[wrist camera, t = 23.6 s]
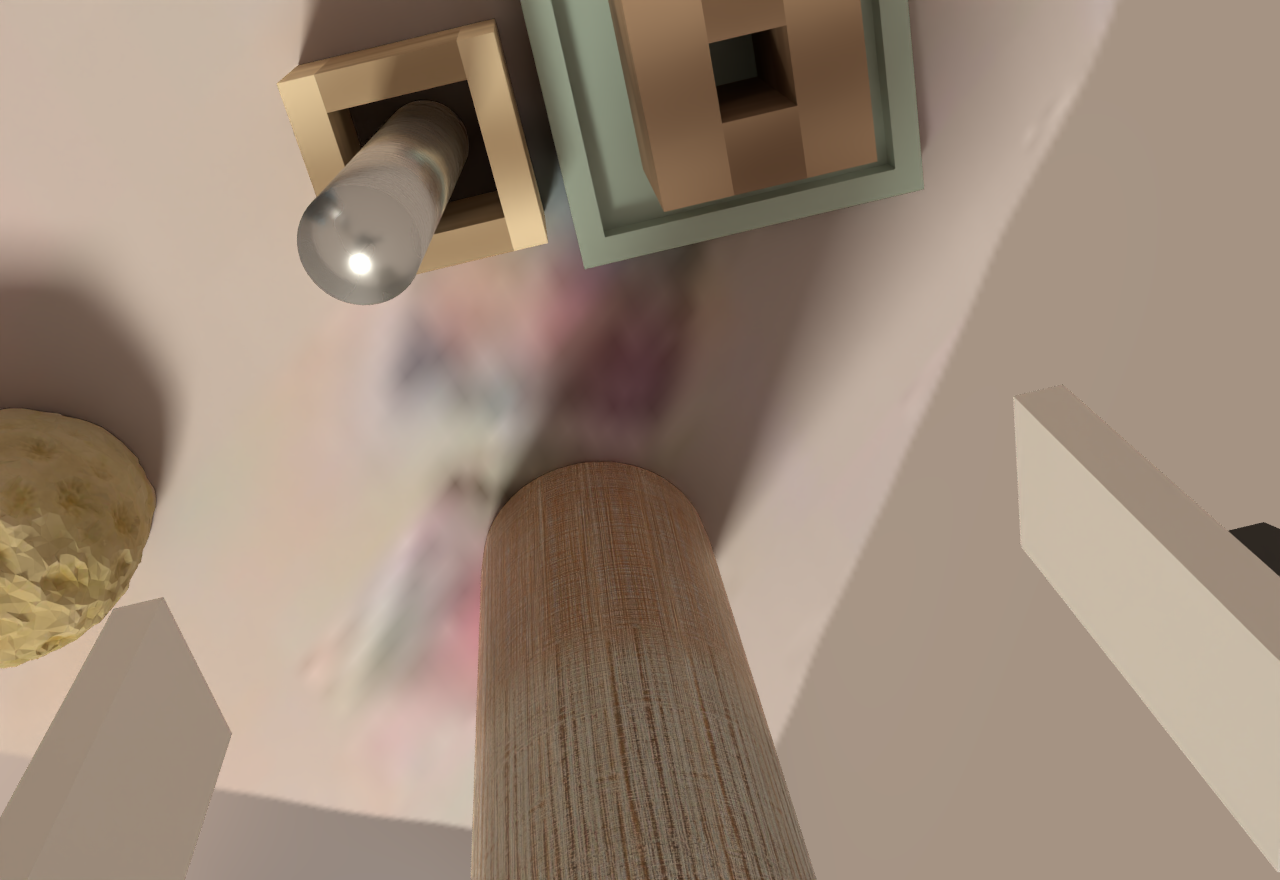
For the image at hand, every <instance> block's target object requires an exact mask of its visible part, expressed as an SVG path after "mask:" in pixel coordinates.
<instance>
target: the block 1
mask: <svg viewBox="0 0 1280 880" xmlns="http://www.w3.org/2000/svg"><path fill="white" fill-rule="evenodd" d="M463 80H467V81H468V85H469V89H470V92H471V96H472V99H473V103H474V107H475V110H476V114H477V118H478V121H479V125H480V129H481V132H482V136H483V140H484V143H485V147H486V151H487V154H488V158H489V161H490V165H491V169H492V172H493V176H494V180H495V183H496V187H497V191H494V192H490V193H485V194H481V195H477V196H473V197H469V198H464V199H460V200H456V201H452V202H448V203H447V205H446V208H445V210H444V212H443V215H442V217H441V219H440V221H439V224H438V226H437V228H436V230H435V233H434V235H433V237H432V240H431V242H430V244H429V246H428V249H427V251H426V253H425V256H424V258H423V260H422V262H421V265H420V267H419V269H418V271H417V273H416V274H420V273H424V272H428V271H432V270H437V269H441V268H445V267H449V266H453V265H458V264H462V263H466V262H470V261H474V260H478V259H483V258H487V257H491V256H495V255H499V254H504V253H508V252H512V251H516V250H520V249H524V248H529V247H533V246H537V245H541V244H545V243H548V239H547V231H546V223H545V215H544V210H543V206H542V202H541V198H540V194H539V190H538V186H537V182H536V178H535V174H534V171H533V167H532V163H531V159H530V155H529V151H528V147H527V143H526V139H525V135H524V131H523V128H522V124H521V120H520V116H519V112H518V108H517V104H516V100H515V96H514V92H513V89H512V85H511V81H510V77H509V73H508V69H507V65H506V61H505V57H504V53H503V50H502V46H501V42H500V38H499V34H498V30H497V26H496V22H495V19H491V20H487V21H482V22H478V23H474V24H470V25H466V26H461V27H457V28H453V29H449V30H445V31H440V32H436V33H432V34H428V35H424V36H419V37H415V38H411V39H407V40H403V41H399V42H394V43H390V44H386V45H382V46H378V47H373V48H369V49H365V50H361V51H357V52H352V53H348V54H344V55H340V56H336V57H331V58H327V59H323V60H319V61H315V62H310V63H306V64H302V65H298V66H297V67H296V68H294V69H293V70H292V71H291V72H290V73H289V74H287V75H286V76H285V77H284V78H283V79H282V80H280V81H279V82H278V83H277V86H278V89H279V92H280V95H281V97H282V100H283V103H284V106H285V109H286V112H287V114H288V117H289V120H290V123H291V126H292V128H293V131H294V134H295V137H296V140H297V143H298V145H299V148H300V151H301V154H302V157H303V160H304V162H305V165H306V168H307V171H308V174H309V177H310V179H311V182H312V185H313V188H314V191H315V194H316V196H318V195H319V194H320V193H321V192H322V191H323V190H324V189H325V188H326V187H327V185H328V184H329V183H330V182H331V181H332V180H333V179H334V178H335V177H336V176H337V175H338V174H339V173H340V171H341V170H342V169H343V168H344V167H345V166H346V165H347V164H348V163H349V162H350V161H351V160H352V158H353V157H354V156H355V155H356V154H357V153H358V152H359V151H360V150H361V146H360V143H359V139H358V136H357V133H356V130H355V127H354V124H353V121H352V118H351V115H350V112H349V109H348V108H350V107H354V106H358V105H363V104H367V103H371V102H375V101H379V100H384V99H388V98H392V97H396V96H400V95H405V94H409V93H413V92H417V91H421V90H425V89H430V88H434V87H438V86H442V85H446V84H451V83H455V82H459V81H463Z"/></svg>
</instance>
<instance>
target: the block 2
mask: <svg viewBox="0 0 1280 880" xmlns="http://www.w3.org/2000/svg"><path fill="white" fill-rule="evenodd" d="M608 3H609V7H610V12H611V17H612V22H613V27H614V32H615V36H616V41H617V46H618V51H619V56H620V61H621V65H622V70H623V75H624V80H625V85H626V90H627V94H628V99H629V104H630V109H631V114H632V119H633V123H634V128H635V133H636V138H637V143H638V147H639V152H640V157H641V162H642V167H643V170H644V172H645V174H646V176H647V178H648V180H649V182H650V184H651V186H652V189H653V191H654V193H655V195H656V197H657V199H658V201H659V203H660V205H661V207H662V209H663V211H664V212H667V211H671V210H675V209H679V208H684V207H688V206H692V205H696V204H701V203H705V202H709V201H713V200H717V199H722V198H726V197H730V196H734V195H738V194H743V193H747V192H751V191H755V190H760V189H764V188H768V187H772V186H776V185H781V184H785V183H789V182H793V181H798V180H802V179H806V178H810V177H814V176H819V175H823V174H827V173H831V172H835V171H840V170H844V169H848V168H852V167H857V166H861V165H865V164H869V163H873V162H878V161H877V152H876V142H875V133H874V123H873V114H872V105H871V95H870V86H869V76H868V67H867V58H866V48H865V39H864V29H863V20H862V10H861V1H860V0H608ZM747 34H751V35H752V42H753V49H754V55H755V62H756V68H757V75H758V76H757V77H753V78H749V79H744V80H740V81H736V82H732V83H727V84H723V85H719V86H716V85H715V79H714V73H713V67H712V61H711V55H710V49H709V43H713V42H717V41H722V40H726V39H730V38H734V37H739V36H743V35H747Z"/></svg>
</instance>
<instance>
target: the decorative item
mask: <svg viewBox="0 0 1280 880" xmlns="http://www.w3.org/2000/svg"><path fill="white" fill-rule="evenodd" d="M155 507H156V496H155V490H154V488H153V486H152V485H151V483H150V482H149V480H148V479H147V477H146V475H145V472H144V469H143V468H142V467H141V466H140V465H139V459H138V458H137V457H136V456H135V455H134V454H133V453H132V452H131V451H130V450H129V449H128V448H127V447H126V446H125V445H124V444H123V443H122V442H121V441H120V440H118V439H117V438H116V437H115V436H113V435H112V434H111V433H109V432H108V431H106V430H105V429H104V428H102V427H100V426H97V425H95V424H93V423H90V422H88V421H84V420H81V419H77V418H72V417H67V416H62V415H61V414H60V413H50V412H41V411H36V410H30V409H24V408H9V409H0V668H8V667H17V666H18V665H20V664H23V663H25V662H27V661H29V660H34V659H38V658H39V657H42V656H45V655H47V654H48V653H50V652H52V651H55V650H57V649H60V648H62V647H64V646H65V645H67V644H69V643H71V642H73V641H75V640H77V639H78V638H79V637H80V636H81V635H83V634H84V633H85V632H86V631H87V630H88V629H90V628H91V627H92V626H94V625H96V624H98V623H100V622H101V620H102V619H104V617H105V616H106V615H107V613H108V612H109V611H110V610H111V609H112V608H113V606H114V605H115V604H116V603H117V602H118V600H119V599H120V598H121V596H122V595H124V594H125V592H126V591H127V589H128V588H129V582H130V579H131V577H132V576H133V574H134V572H135V570H136V569H137V567H138V564H139V563H140V562H141V558H142V552H143V548H144V547H145V545H146V542H147V540H148V537H149V533H150V528H151V523H152V518H153V512H154V510H155Z"/></svg>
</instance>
